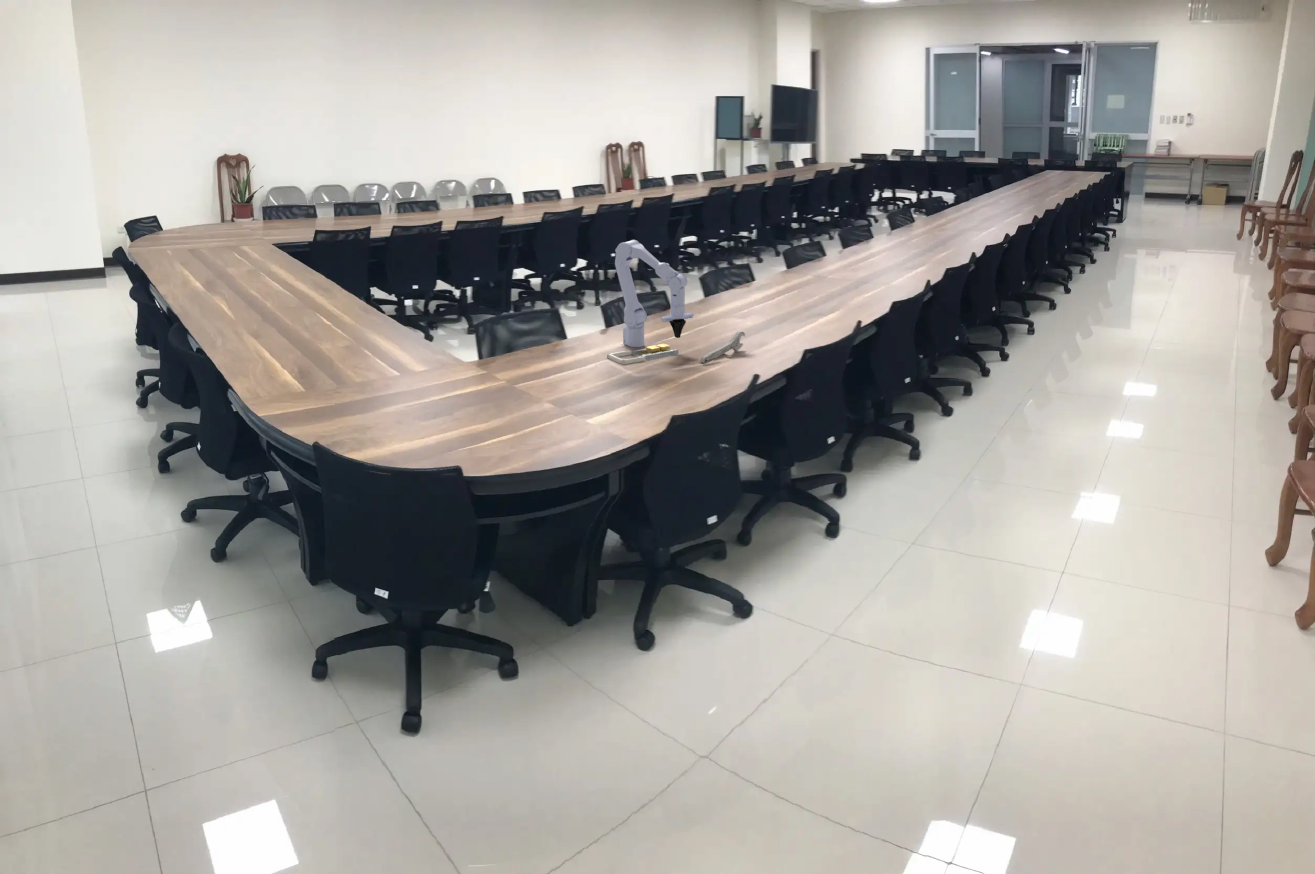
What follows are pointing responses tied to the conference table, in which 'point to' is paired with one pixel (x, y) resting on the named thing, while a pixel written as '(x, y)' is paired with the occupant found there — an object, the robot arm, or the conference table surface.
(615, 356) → the grey rectangular frame
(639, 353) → the slot board
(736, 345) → the wrench
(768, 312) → the conference table surface
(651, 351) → the chip
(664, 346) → the chip
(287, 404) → the conference table surface
